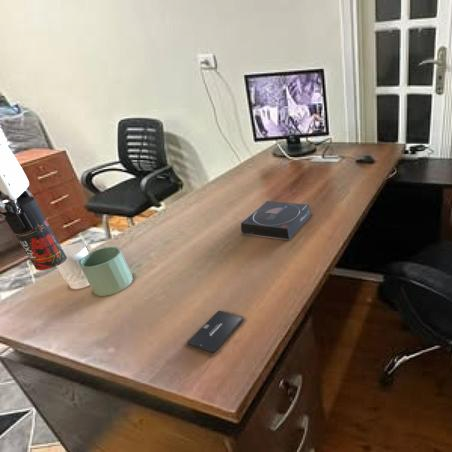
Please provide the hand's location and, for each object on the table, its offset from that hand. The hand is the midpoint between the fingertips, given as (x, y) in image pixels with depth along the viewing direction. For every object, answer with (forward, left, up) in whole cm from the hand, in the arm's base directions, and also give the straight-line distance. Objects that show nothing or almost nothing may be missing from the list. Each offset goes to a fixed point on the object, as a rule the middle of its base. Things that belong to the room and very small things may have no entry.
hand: (29, 223), depth 74 cm
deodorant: (0, 0, -10) cm, 10 cm away
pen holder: (+7, +7, -24) cm, 26 cm away
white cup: (-1, +13, -24) cm, 27 cm away
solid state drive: (+30, -25, -24) cm, 46 cm away
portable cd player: (+55, +15, -24) cm, 62 cm away
